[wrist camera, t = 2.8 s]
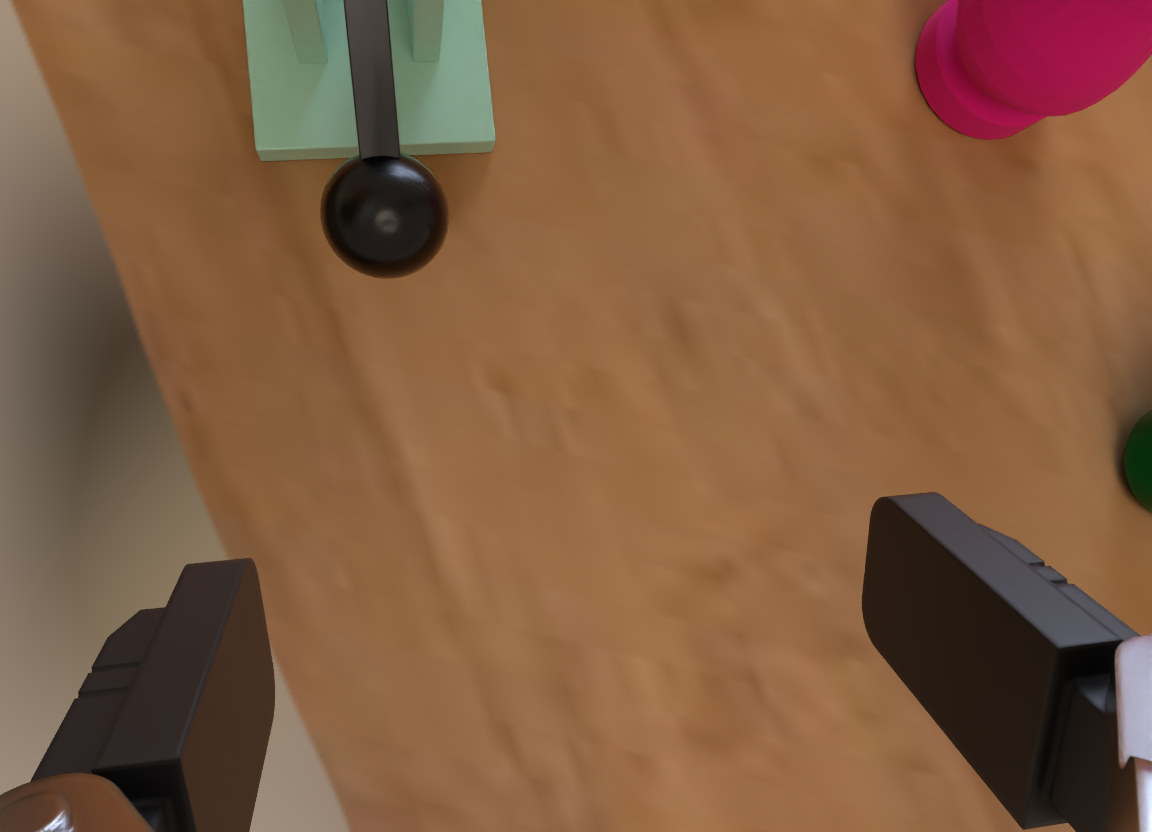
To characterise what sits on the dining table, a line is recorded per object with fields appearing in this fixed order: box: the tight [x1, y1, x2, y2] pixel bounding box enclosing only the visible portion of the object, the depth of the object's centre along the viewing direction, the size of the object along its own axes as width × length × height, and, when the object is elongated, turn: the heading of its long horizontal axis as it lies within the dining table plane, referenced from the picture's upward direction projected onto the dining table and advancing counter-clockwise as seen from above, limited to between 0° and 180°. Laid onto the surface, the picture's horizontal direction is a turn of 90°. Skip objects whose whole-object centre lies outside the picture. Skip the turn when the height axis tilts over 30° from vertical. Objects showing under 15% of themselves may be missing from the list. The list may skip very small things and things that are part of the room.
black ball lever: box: [320, 0, 449, 279], centre depth 24 cm, size 14×4×4 cm, turn 8°
